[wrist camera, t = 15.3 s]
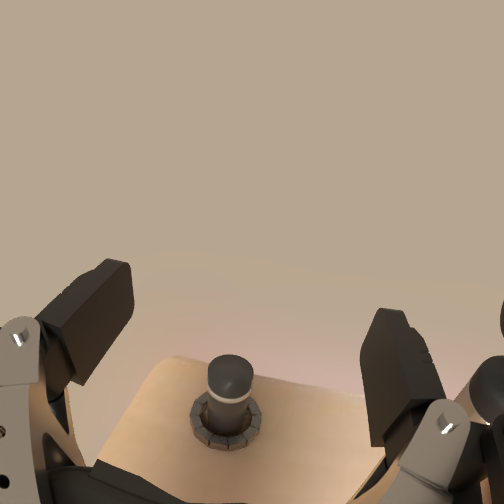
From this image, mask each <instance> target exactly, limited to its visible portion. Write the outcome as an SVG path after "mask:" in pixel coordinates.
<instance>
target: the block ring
mask: <svg viewBox="0 0 504 504" xmlns="http://www.w3.org/2000/svg"><path fill="white" fill-rule="evenodd" d="M207 400H208V392H206V393H204V394H203V395H202V396H200V397H199V398H198V399H196V400H195V401H194V404H193V407H192V409H191V412H190V422H191V426H192V429H193V432H194V435H196V437H197V438H198V439H199V440H200V441H201V442H203V443H204V444H205V445H206V446H207V447H209V446H210V448H213V449H218V450H222V451H227V449H228V451H232V450H236V449H240V448H244V447H245V446H247V445H248V444H250V443H251V442H252V441H253V440H254V439H255V438H256V437H257V435H258V432H259V429H260V423H261V416H262V415H261V412H260V410H259V408H258V406H257V404H256V402H254V400H253V399H251V398H250V397H249V399H248V404H247V409H246V412H247V414H248V416H249V418H250V421H251V425H250V427H249V428H248V429H247V430H246V431H245V432H244V433H243V434H241V435H237V436H233V437H229V438H227V437H222V436H218V435H213V434H212V433H211V432H210V431H208V430H207V429H206V428H205V427H203V425H202V422H201V420H200V418H201V415H202V412H203V411H204V410H205V409H207Z"/></svg>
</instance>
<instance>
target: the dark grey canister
mask: <svg viewBox="0 0 504 504" xmlns="http://www.w3.org/2000/svg"><path fill="white" fill-rule="evenodd" d="M253 373H254V372H253V368H252V366H251V364H250V363H249V362H248V361H247V360H246V359H244V358H242V357H240V356H236V355H222V356H219V357H217V358H215V359H214V360H212V362H211V363H210V364H209V367H208V378H207V389H208V400H207V425H208V428H209V429H210V431H211V432H212V433H213V434H215V435H218V436H222V437H227V438H229V437H233V436H236V435H237V434H239V433H240V432H241V430H242V428H243V424H244V419H245V414H246V409H247V404H248V399H249V394H250V392H251V389H252V379H253Z"/></svg>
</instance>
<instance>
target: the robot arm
mask: <svg viewBox="0 0 504 504" xmlns="http://www.w3.org/2000/svg"><path fill="white" fill-rule="evenodd" d="M133 310H134V296H133V287H132V276H131V268H130V265H129V264H128V263H126V262H122V261H118V260H113V259H105V260H104V261H103V262H102V263H101V264H100V265H98V266H97V267H96V268H95V269H94V270H91V271H88V272H86V273H84V274H82V275H80V276H79V277H77V278H76V279H75V280H74V281H73V282H72V283H71V284H70V286H68V287H66V288H65V289H64V290H63V291H62V294H61V293H60V294H59V295H58V296H57V297H56V298H55V299H54V300H53V301H52V302H50V303H49V304H48V305H47V307H46V308H44V309H43V310H42V311H41V312H40V313H39V314H38V315H37V316H36V317H35V318H32V317H26V316H24V317H17V318H14V319H12V320H10V321H9V322H7V323H6V324H5V325H4V326H3V327H0V504H203V503H187V502H184V501H181V500H179V499H178V498H176V497H174V496H172V495H170V494H168V493H167V492H165V491H163V490H161V489H160V488H158V487H156V486H155V485H153V484H151V483H150V482H148V481H146V480H145V479H143V478H142V477H140V476H138V475H135V474H132V473H130V472H127V471H125V470H122V469H120V468H117V467H115V466H112V465H110V464H108V463H106V462H103V461H101V460H99V459H97V460H96V462H95V464H94V466H93V467H87V466H86V465H85V462H84V459H83V456H82V454H81V452H80V450H79V448H78V446H77V443H76V439H75V434H74V428H73V422H72V416H71V409H70V401H69V393H68V389H67V387H66V386H67V385H68V383H69V382H70V381H73V382H75V383H77V384H79V385H81V386H84V384H85V383H86V381H87V380H88V378H89V377H90V375H91V374H92V372H93V371H94V369H95V368H96V367H97V365H98V364H99V362H100V360H101V359H102V358H103V356H104V355H105V354H106V352H107V351H108V349H109V348H110V346H111V345H112V344H113V342H114V341H115V339H116V338H117V336H118V335H119V334H120V332H121V331H122V330H123V328H124V327H125V325H126V324H127V323H128V321H129V320H130V318H131V316H132V314H133ZM500 326H501V331H502V334H503V337H504V302H503V305H502V309H501V315H500ZM428 352H429V351H428V348H427V346H426V343H425V341H424V339H423V338H422V336H421V335H420V334H419V333H418V332H417V331H416V330H415V329H414V328H411V327H410V326H409V324H408V322H407V319H406V317H405V315H404V312H403V311H401V310H393V309H386V308H379V309H378V310H377V312H376V314H375V317H374V319H373V322H372V324H371V326H370V329H369V331H368V333H367V335H366V338H365V340H364V342H363V344H362V347H361V352H360V366H361V372H362V379H363V385H364V392H365V399H366V406H367V414H368V422H369V431H370V440H371V447H385V455H384V456H383V457H382V458H381V459H380V461H379V462H378V464H377V465H376V466H375V468H374V469H373V471H372V472H371V473H370V475H369V476H368V477H367V479H366V480H365V481H364V482H363V484H362V485H361V486H360V488H359V489H358V490H357V491H356V493H355V494H354V495H353V496H352V497H351V499H350V500H349V501H348V502H347V503H346V504H483V502H482V494H481V487H480V482H481V481H482V480H484V479H485V478H486V477H488V479H489V484H490V491H491V497H492V504H504V356H493V357H490V358H488V359H487V360H485V361H484V362H483V363H482V364H481V365H480V367H479V368H478V369H477V371H476V372H475V374H474V375H473V376H472V378H471V379H470V380H469V382H468V383H467V384H466V386H465V387H464V388H463V390H462V391H461V392H460V393H459V395H458V396H457V397H456V398H455V400H454V401H452V400H449V399H447V398H446V395H445V392H444V390H443V387H442V384H441V381H440V379H439V376H438V373H437V371H436V368H435V365H434V363H432V361H433V360H432V358H431V355H430V354H429V353H428ZM224 504H246V503H224Z"/></svg>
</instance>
